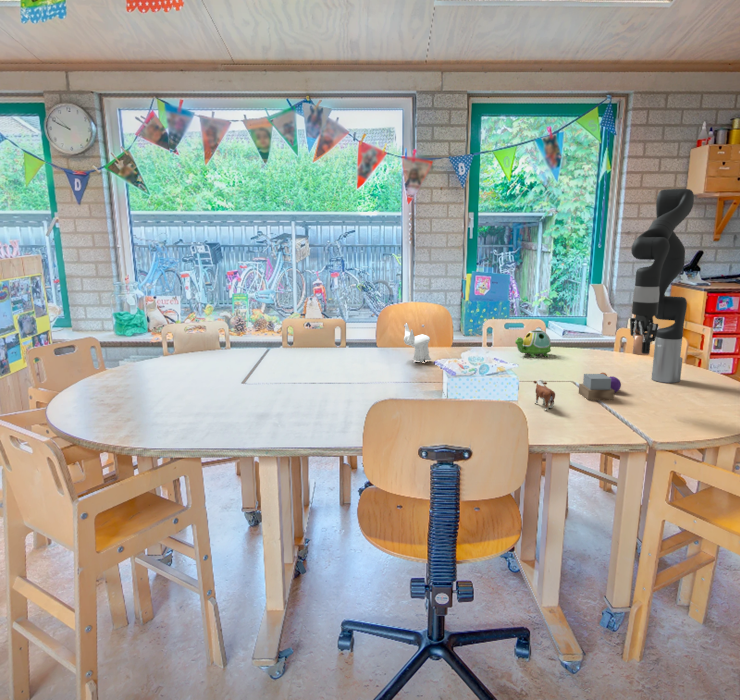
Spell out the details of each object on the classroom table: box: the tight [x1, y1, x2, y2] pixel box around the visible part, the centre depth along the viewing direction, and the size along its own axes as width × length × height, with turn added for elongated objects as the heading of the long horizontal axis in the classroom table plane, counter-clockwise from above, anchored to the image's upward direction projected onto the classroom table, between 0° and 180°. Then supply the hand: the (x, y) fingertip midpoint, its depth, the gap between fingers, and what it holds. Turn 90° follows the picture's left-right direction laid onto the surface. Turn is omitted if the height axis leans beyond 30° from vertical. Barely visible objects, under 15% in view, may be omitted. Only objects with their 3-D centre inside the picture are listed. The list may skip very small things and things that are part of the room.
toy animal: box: [403, 322, 432, 363], centre depth 252 cm, size 20×12×17 cm, turn 3°
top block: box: [582, 373, 611, 390], centre depth 194 cm, size 7×7×4 cm
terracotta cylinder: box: [632, 334, 652, 356], centre depth 179 cm, size 5×5×6 cm
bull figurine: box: [533, 378, 556, 411], centre depth 184 cm, size 4×13×8 cm, turn 2°
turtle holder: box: [515, 329, 552, 358], centre depth 262 cm, size 12×18×12 cm
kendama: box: [599, 372, 622, 393], centre depth 208 cm, size 6×6×20 cm
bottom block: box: [578, 383, 615, 401], centre depth 195 cm, size 9×9×4 cm
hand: (641, 351), depth 180 cm, fingers closed on terracotta cylinder, 5 cm apart
